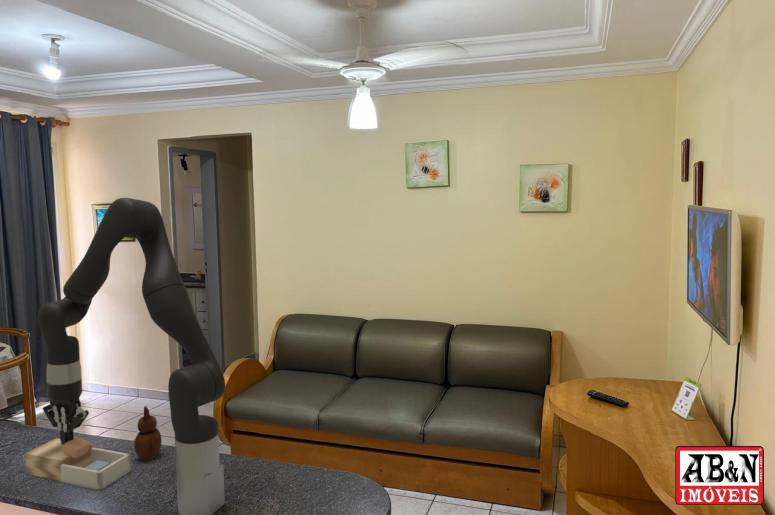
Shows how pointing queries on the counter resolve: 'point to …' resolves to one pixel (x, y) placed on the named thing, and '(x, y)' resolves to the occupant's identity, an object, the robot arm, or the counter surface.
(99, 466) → the slate tile
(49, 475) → the wooden block
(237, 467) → the counter surface
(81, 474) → the tray
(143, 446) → the wooden figurine
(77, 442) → the terracotta tile
